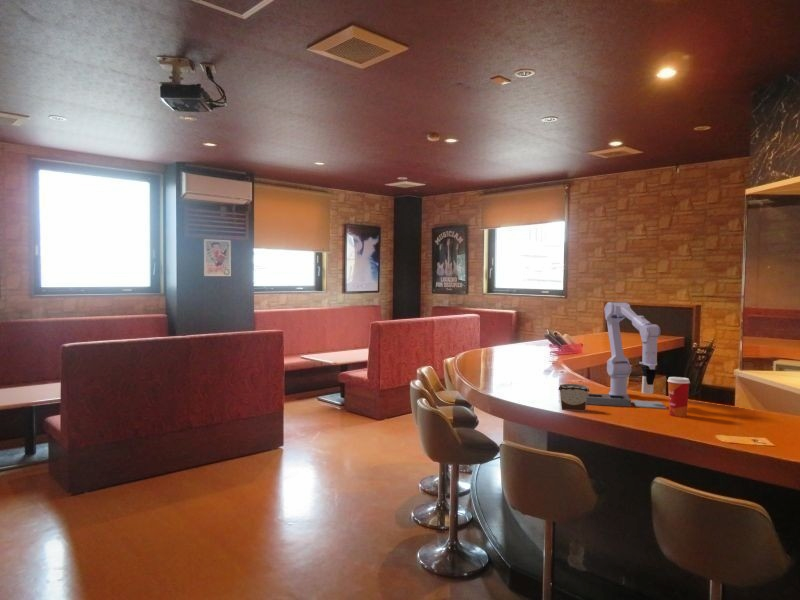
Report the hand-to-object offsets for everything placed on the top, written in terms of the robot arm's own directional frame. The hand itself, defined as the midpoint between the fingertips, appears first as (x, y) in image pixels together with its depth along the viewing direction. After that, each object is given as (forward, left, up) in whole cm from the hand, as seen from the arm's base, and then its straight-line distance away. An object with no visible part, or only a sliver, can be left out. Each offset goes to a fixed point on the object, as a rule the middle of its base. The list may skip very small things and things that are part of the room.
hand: (649, 383), depth 235 cm
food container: (+17, -32, -10) cm, 38 cm away
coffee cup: (+17, +8, -10) cm, 21 cm away
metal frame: (+1, -18, -9) cm, 20 cm away
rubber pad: (0, 0, -9) cm, 9 cm away
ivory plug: (0, -1, -4) cm, 4 cm away
